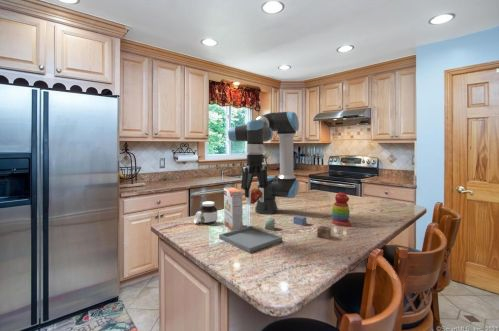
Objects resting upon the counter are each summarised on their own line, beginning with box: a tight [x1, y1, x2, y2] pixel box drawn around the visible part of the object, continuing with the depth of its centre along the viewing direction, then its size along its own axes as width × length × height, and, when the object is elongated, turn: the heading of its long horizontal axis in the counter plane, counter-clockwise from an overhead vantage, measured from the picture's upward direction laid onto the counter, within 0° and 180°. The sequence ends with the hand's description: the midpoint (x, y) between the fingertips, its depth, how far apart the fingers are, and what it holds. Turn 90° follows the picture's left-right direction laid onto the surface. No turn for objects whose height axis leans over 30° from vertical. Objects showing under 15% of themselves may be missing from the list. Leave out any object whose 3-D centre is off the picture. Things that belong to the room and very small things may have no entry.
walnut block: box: [316, 225, 332, 240], centre depth 127 cm, size 5×5×4 cm
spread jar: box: [193, 200, 218, 225], centre depth 149 cm, size 12×11×12 cm
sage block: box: [264, 217, 276, 231], centre depth 140 cm, size 5×5×5 cm
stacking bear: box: [331, 191, 353, 228], centre depth 148 cm, size 11×10×18 cm
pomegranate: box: [250, 188, 263, 205], centre depth 122 cm, size 7×7×10 cm
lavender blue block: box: [293, 215, 307, 226], centre depth 148 cm, size 6×4×4 cm, turn 46°
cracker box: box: [223, 186, 244, 231], centre depth 140 cm, size 14×6×21 cm, turn 23°
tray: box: [218, 225, 283, 254], centre depth 123 cm, size 22×20×2 cm
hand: (254, 202), depth 122 cm, fingers closed on pomegranate, 7 cm apart
